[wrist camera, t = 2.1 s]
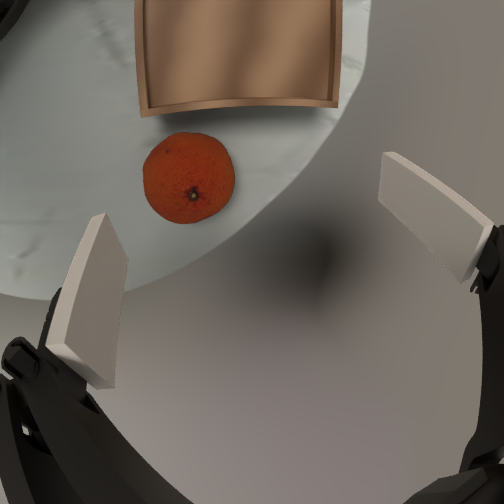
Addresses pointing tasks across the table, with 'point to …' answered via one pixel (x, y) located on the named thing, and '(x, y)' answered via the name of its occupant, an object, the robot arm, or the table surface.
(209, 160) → the fruit
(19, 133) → the table surface
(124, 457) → the robot arm
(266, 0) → the tray
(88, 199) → the table surface
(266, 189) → the table surface
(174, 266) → the table surface
